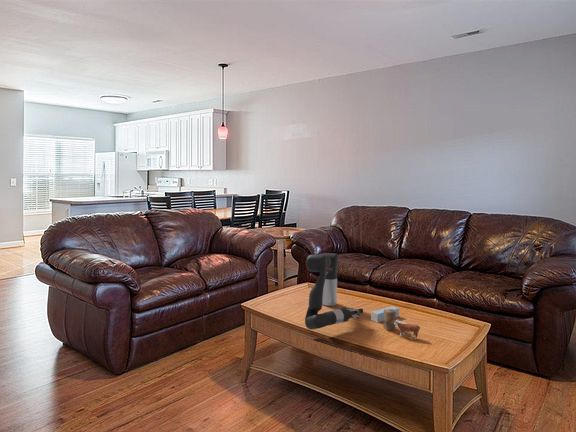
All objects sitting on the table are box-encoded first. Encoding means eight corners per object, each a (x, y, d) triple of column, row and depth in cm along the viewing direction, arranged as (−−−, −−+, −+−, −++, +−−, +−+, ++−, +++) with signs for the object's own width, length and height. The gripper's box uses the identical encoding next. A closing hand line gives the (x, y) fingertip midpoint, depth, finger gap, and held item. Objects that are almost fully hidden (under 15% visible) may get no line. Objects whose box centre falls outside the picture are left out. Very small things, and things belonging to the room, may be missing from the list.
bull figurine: (394, 332, 221) (394, 317, 220) (420, 338, 214) (420, 322, 213) (391, 335, 217) (392, 320, 216) (418, 340, 210) (418, 325, 209)
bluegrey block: (377, 314, 235) (399, 308, 246) (371, 311, 240) (392, 306, 250) (377, 322, 236) (398, 316, 246) (370, 319, 240) (392, 314, 250)
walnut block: (386, 330, 224) (386, 312, 223) (383, 326, 229) (383, 309, 228) (395, 330, 225) (395, 312, 224) (392, 326, 230) (392, 309, 229)
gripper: (347, 312, 216) (371, 306, 226) (330, 306, 227) (354, 300, 237) (347, 326, 217) (370, 320, 227) (330, 319, 228) (353, 313, 238)
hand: (362, 310), depth 232 cm, fingers closed
